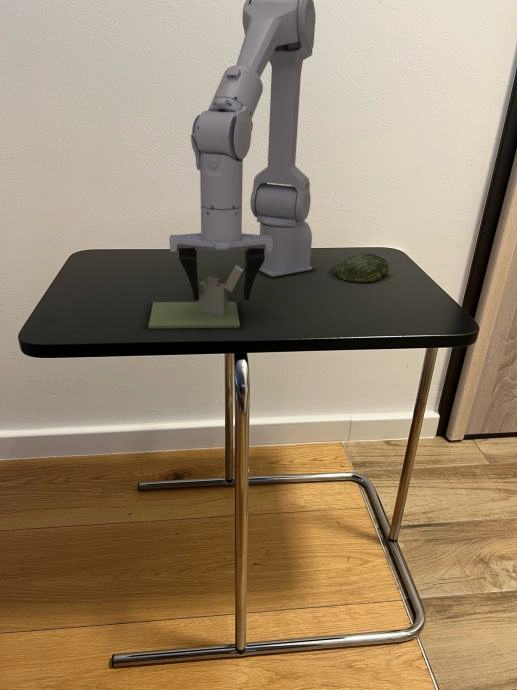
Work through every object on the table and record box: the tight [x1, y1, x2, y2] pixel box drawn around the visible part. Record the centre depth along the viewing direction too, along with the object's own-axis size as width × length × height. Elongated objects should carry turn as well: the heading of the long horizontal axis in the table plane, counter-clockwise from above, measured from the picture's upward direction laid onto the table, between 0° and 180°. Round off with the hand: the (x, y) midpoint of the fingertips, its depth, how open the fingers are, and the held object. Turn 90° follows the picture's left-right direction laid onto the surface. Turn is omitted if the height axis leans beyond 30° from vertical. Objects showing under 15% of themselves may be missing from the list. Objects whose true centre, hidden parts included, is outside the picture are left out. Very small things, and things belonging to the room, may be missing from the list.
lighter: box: [197, 262, 247, 315], centre depth 80 cm, size 7×2×8 cm, turn 71°
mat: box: [148, 301, 241, 330], centre depth 82 cm, size 13×9×1 cm
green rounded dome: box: [332, 253, 389, 283], centre depth 101 cm, size 10×4×10 cm
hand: (221, 297), depth 81 cm, fingers closed on lighter, 7 cm apart
